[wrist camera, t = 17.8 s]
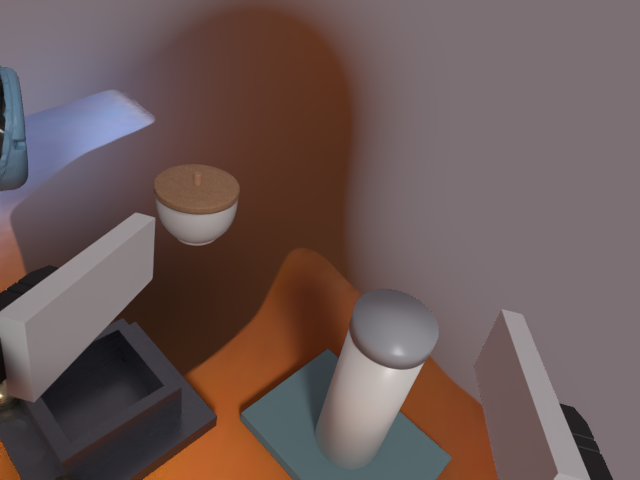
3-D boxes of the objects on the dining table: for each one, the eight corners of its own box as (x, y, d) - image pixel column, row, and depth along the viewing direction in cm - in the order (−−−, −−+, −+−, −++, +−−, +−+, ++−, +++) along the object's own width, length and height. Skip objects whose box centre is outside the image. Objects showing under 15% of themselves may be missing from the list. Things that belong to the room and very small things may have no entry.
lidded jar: (198, 201, 69) (199, 145, 63) (251, 234, 65) (257, 177, 60) (138, 229, 61) (134, 169, 56) (194, 268, 57) (196, 207, 52)
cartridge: (300, 432, 41) (336, 312, 32) (343, 394, 45) (387, 277, 36) (350, 485, 39) (407, 371, 29) (392, 439, 43) (454, 326, 33)
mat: (240, 419, 43) (241, 412, 42) (325, 355, 50) (327, 348, 50) (370, 566, 35) (374, 561, 34) (447, 464, 43) (451, 457, 42)
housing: (-17, 407, 39) (-35, 368, 36) (136, 331, 48) (133, 294, 45) (54, 543, 33) (41, 510, 29) (216, 425, 42) (219, 390, 38)
